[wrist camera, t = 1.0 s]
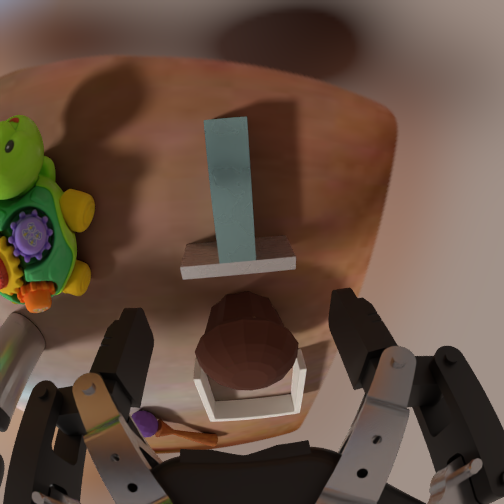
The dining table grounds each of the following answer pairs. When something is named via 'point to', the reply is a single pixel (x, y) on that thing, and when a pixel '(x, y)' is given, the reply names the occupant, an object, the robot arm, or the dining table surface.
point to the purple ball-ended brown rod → (168, 429)
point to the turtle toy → (37, 222)
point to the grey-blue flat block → (233, 212)
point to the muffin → (246, 343)
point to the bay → (252, 406)
